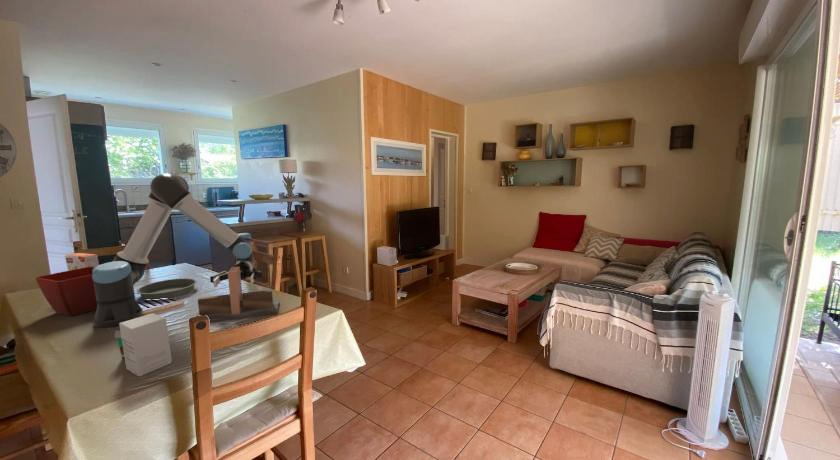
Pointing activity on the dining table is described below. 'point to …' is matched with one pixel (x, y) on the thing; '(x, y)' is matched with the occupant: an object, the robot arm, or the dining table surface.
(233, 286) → the halving plate
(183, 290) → the cake pan
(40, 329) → the dining table surface
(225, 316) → the cross board
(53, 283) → the plant pot
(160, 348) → the supplement box
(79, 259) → the cracker box
